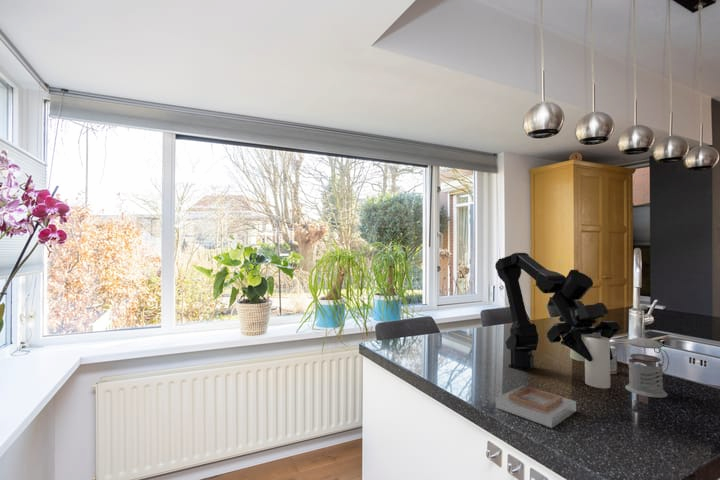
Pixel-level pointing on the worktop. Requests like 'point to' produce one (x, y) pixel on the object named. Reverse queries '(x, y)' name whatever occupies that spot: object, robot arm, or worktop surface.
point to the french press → (646, 368)
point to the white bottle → (597, 361)
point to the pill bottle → (613, 361)
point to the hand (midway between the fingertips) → (601, 360)
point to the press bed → (536, 405)
